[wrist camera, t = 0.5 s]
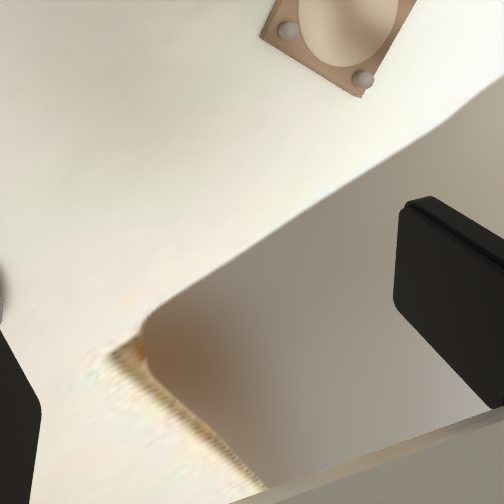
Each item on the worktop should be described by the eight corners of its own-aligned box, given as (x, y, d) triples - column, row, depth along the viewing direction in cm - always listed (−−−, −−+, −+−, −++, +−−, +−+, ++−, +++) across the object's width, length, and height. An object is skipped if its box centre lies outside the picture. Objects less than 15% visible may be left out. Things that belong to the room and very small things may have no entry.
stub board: (325, -103, 31) (343, -111, 29) (419, -21, 36) (441, -23, 33) (259, 37, 34) (270, 39, 32) (353, 95, 39) (369, 101, 36)
